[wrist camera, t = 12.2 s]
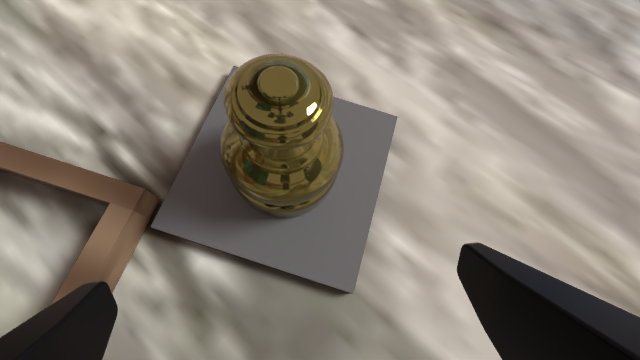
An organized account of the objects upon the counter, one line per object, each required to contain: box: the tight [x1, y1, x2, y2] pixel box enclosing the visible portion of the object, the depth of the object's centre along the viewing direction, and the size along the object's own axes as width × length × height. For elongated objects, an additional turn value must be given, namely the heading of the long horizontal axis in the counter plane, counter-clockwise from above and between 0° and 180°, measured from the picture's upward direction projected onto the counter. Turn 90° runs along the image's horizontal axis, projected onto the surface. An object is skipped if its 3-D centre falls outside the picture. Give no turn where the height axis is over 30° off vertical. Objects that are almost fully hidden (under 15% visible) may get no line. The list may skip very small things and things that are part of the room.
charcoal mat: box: [151, 66, 397, 294], centre depth 23 cm, size 14×14×1 cm
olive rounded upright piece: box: [220, 54, 344, 218], centre depth 17 cm, size 7×7×10 cm
